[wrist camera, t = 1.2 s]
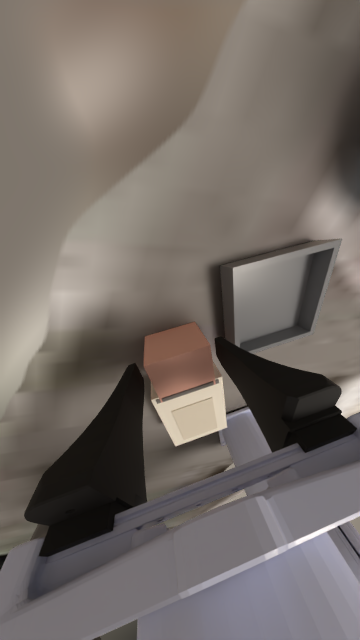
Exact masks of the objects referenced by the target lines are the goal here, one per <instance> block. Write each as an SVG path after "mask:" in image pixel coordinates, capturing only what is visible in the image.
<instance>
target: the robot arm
mask: <svg viewBox="0 0 360 640" xmlns="http://www.w3.org/2000/svg"><path fill="white" fill-rule="evenodd" d="M215 346H216V355H217V357H218V359H219V361H220V363H221V365H222V366H223V368H224V369H225V371H226V372H227V374H228V375H229V377H230V378H231V379H232V381H233V382H234V384H235V385H236V387H237V388H238V390H239V391H240V393H241V395H242V396H243V398H244V400H245V402H246V403H247V405H248V407H246V408H243V409H241V410H238V411H235V412H232V413H229V414H227V415H226V421H227V428H224V429H222V430H219V437H220V443H221V446H224V445H227V447H228V450H229V452H230V455H231V457H232V460H233V462H234V465H235V468H232V469H230V470H227V471H225V472H222V473H220V474H217V475H214V476H212V477H209V478H207V479H204V480H202V481H199V482H197V483H194V484H192V485H189V486H187V487H184V488H181V489H179V490H176V491H174V492H171V493H169V494H166V495H164V496H161V497H159V498H156V499H154V500H151V501H149V502H147V498H146V486H145V474H144V458H143V433H142V419H143V404H144V379H143V377H142V375H141V373H140V371H139V369H138V367H137V365H136V363H134V364H131V365H128V367H127V369H126V371H125V372H124V374H123V376H122V378H121V380H120V381H119V383H118V385H117V386H116V388H115V390H114V391H113V393H112V395H111V396H110V398H109V399H108V401H107V402H106V404H105V405H104V407H103V408H102V409H101V411H100V412H99V413H98V415H97V416H96V417H95V419H94V420H93V421H92V422H91V423H90V425H89V426H88V427H87V428H86V430H85V431H84V432H83V433H82V434H81V435H80V437H79V438H78V439H77V440H76V441H75V442H74V443H73V444H72V445H71V446H70V447H69V449H68V450H67V451H66V452H65V453H64V454H63V455H62V456H61V457H60V458H59V459H58V460H57V461H56V462H55V463H54V464H53V465H52V466H51V467H50V468H49V469H48V470H47V471H46V472H45V473H44V474H43V475H42V477H41V479H40V482H39V484H38V486H37V488H36V490H35V492H34V494H33V496H32V498H31V500H30V503H29V505H28V507H27V509H26V511H25V514H24V517H25V519H26V520H27V521H30V522H33V523H37V524H42V525H47V526H49V528H48V531H47V534H46V537H40V538H37V539H34V540H31V541H29V542H26V543H24V544H21V545H18V546H16V547H13V548H12V549H11V550H10V552H9V554H8V556H7V558H6V560H5V562H4V565H3V567H2V569H1V571H0V640H92V639H94V638H97V637H99V636H101V635H103V634H105V633H108V632H110V631H112V630H114V629H116V628H118V627H121V626H123V625H125V624H127V623H129V622H132V621H134V620H136V619H138V624H137V625H138V626H137V627H138V628H137V640H360V535H359V533H358V532H357V530H356V529H355V528H354V526H353V525H352V524H351V523H350V520H352V519H354V518H356V517H359V516H360V412H359V413H357V414H354V415H352V416H350V417H348V418H347V419H346V418H344V417H343V416H342V415H341V413H342V411H341V410H340V409H339V408H337V407H336V406H335V404H336V403H337V401H338V399H339V397H340V395H341V388H340V387H339V386H338V385H336V384H335V383H333V382H332V381H331V380H329V379H328V378H326V377H325V376H323V375H322V374H317V373H312V372H307V371H303V370H299V369H295V368H291V367H287V366H284V365H281V364H278V363H275V362H272V361H269V360H266V359H264V358H261V357H259V356H256V355H254V354H252V353H250V352H248V351H246V350H244V349H242V348H240V347H238V346H236V345H234V344H233V343H231V342H229V341H228V340H226V339H224V338H222V337H218V338H215ZM242 489H245V492H246V494H247V496H246V497H243V498H240V499H237V500H235V501H232V502H229V503H227V504H224V505H222V506H219V507H217V508H215V509H212V510H210V511H208V512H205V513H203V514H201V515H199V516H196V517H194V518H192V519H190V520H188V521H186V522H184V523H182V524H180V525H178V526H176V527H174V528H172V529H169V528H167V527H166V525H165V524H161V525H157V524H159V523H161V522H164V521H166V520H169V519H171V518H174V517H176V516H178V515H181V514H183V513H186V512H188V511H191V510H193V509H196V508H198V507H200V506H203V505H205V504H208V503H210V502H213V501H215V500H217V499H220V498H222V497H225V496H227V495H230V494H232V493H235V492H237V491H239V490H242ZM154 525H157V526H154ZM152 526H153V527H152Z"/></svg>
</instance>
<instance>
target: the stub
mask: <svg viewBox="0 0 360 640" xmlns="http://www.w3.org/2000/svg"><path fill="white" fill-rule="evenodd" d="M144 368H145V370H146V372H147V374H148V376H149V378H150V381H151V383H152V385H153V387H154V389H155V391H156V393H157V395H158V397H159V399H160V401H161V403H162V402H165V401H168V400H171V399H174V398H177V397H180V396H183V395H186V394H189V393H191V392H194V391H197V390H200V389H203V388H206V387H209V386H212V385H215V384H216V383H215V375H214V368H213V361H212V354H211V347H210V344H209V342H208V341H207V339H206V338H205V336H204V335H203V333H202V332H201V330H200V329H199V327H198V326H197V324H196V323H195V322H192V323H189V324H185V325H182V326H179V327H175V328H172V329H168V330H165V331H162V332H158V333H155V334H151V335H148V336H145V346H144Z"/></svg>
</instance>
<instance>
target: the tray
mask: <svg viewBox="0 0 360 640" xmlns="http://www.w3.org/2000/svg"><path fill="white" fill-rule="evenodd" d="M341 241H342V239H331V240H317V241H311V242H307V243H304V244H300V245H296V246H292V247H289V248H285V249H281V250H277V251H273V252H270V253H266V254H262V255H258V256H254V257H251V258H247V259H243V260H239V261H235V262H232V263H228V264H224V265H220V271H221V286H222V300H223V314H224V329H225V339H226V340H228V341H229V342H231V343H233V344H234V345H236V346H238V347H240V348H242V349H244V350H246V351H248V352H250V353H252V354H254V353H257V352H260V351H263V350H266V349H269V348H272V347H275V346H278V345H281V344H284V343H288V342H291V341H294V340H297V339H300V338H303V337H306V336H309V335H312V334H313V333H314V330H315V327H316V323H317V320H318V317H319V314H320V310H321V307H322V304H323V300H324V297H325V294H326V291H327V287H328V284H329V281H330V277H331V274H332V271H333V268H334V264H335V261H336V258H337V254H338V251H339V248H340V245H341Z"/></svg>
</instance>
